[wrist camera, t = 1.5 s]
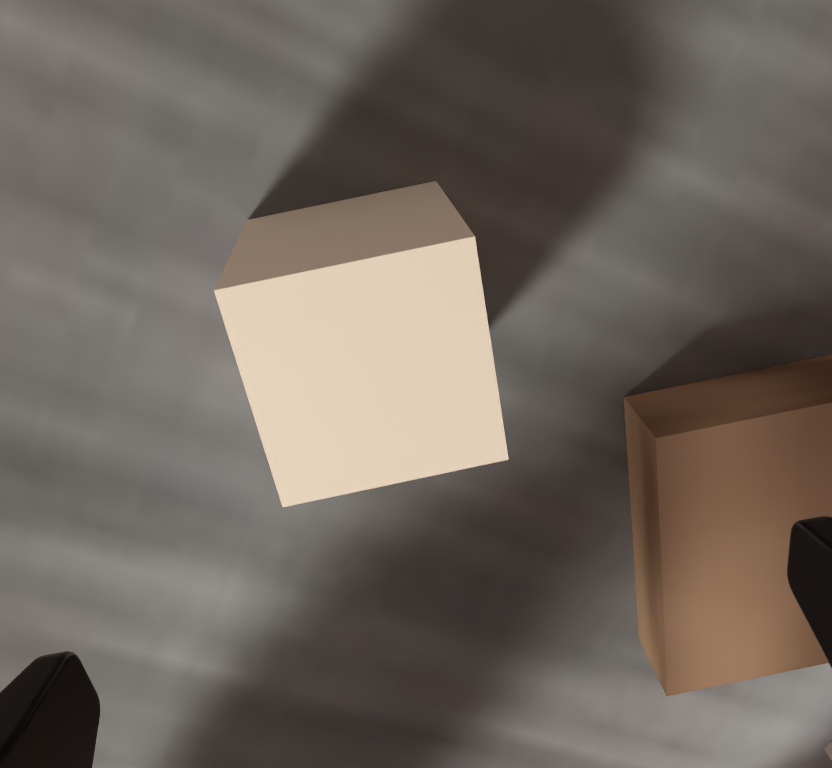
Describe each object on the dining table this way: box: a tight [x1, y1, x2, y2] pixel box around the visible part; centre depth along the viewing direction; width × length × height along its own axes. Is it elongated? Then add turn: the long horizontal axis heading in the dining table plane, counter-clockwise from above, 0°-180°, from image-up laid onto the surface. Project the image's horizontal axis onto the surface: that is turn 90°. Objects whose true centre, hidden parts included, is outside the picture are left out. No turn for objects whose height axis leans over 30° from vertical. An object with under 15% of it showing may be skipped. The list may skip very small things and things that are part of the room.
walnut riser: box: [624, 354, 832, 696], centre depth 24 cm, size 10×10×3 cm
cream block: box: [214, 181, 509, 507], centre depth 18 cm, size 5×5×6 cm
